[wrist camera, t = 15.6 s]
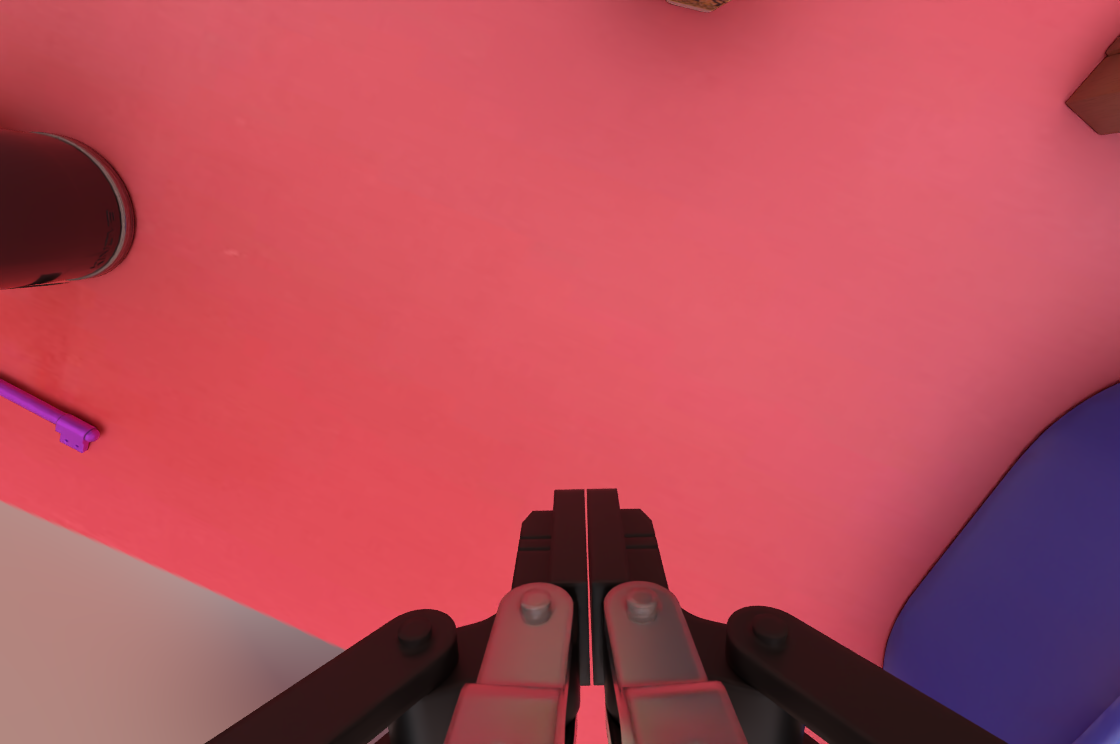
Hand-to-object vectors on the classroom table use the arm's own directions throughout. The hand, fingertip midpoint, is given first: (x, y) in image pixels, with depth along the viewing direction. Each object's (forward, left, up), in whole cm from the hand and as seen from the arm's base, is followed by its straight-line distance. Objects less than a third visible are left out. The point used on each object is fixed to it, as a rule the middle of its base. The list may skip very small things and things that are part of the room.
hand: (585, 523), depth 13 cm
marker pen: (-35, -25, -27) cm, 51 cm away
